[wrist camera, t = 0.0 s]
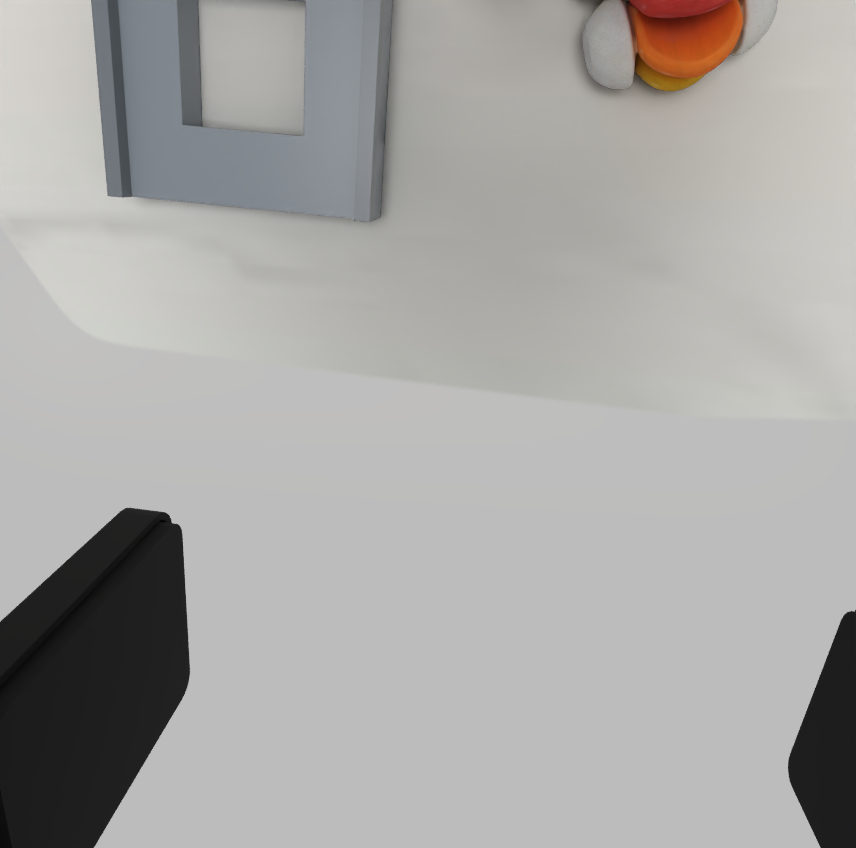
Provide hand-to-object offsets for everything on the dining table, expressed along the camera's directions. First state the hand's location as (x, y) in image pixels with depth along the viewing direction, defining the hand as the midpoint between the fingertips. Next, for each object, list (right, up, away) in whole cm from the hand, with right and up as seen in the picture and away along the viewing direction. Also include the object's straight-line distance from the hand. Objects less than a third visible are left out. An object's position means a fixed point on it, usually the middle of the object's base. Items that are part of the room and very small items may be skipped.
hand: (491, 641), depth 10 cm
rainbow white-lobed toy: (+10, +24, +23) cm, 35 cm away
